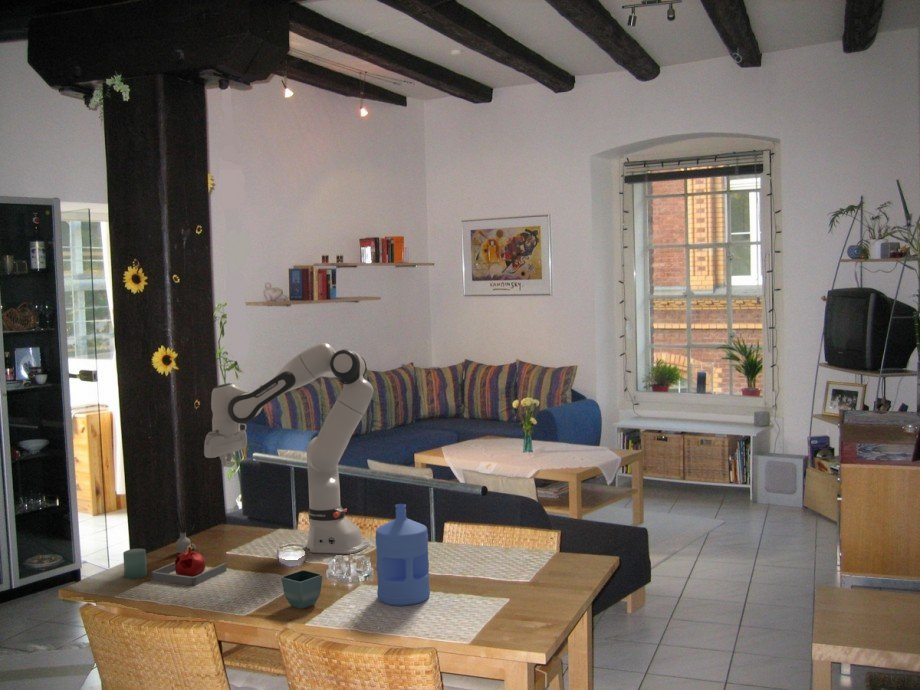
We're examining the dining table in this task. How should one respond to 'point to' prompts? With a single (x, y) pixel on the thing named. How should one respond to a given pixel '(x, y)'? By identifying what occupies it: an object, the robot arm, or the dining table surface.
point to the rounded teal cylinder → (135, 563)
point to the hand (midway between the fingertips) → (226, 465)
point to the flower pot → (302, 588)
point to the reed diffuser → (183, 535)
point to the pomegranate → (189, 563)
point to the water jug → (402, 561)
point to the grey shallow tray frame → (163, 576)
